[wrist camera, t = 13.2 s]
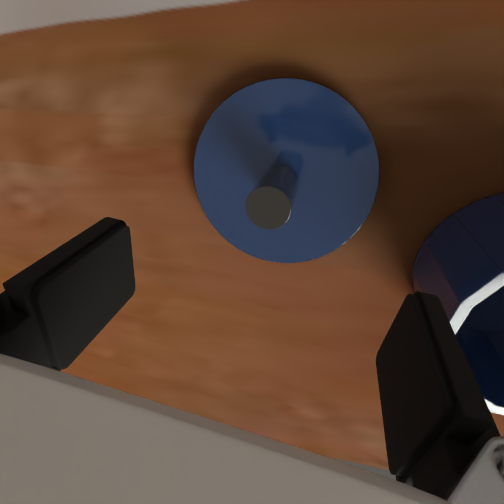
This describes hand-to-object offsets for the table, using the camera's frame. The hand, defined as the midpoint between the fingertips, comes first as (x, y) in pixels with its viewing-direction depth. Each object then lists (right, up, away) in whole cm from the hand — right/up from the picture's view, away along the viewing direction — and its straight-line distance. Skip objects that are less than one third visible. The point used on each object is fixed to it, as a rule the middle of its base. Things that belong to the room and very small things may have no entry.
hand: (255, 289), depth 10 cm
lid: (+2, +7, +15) cm, 16 cm away
